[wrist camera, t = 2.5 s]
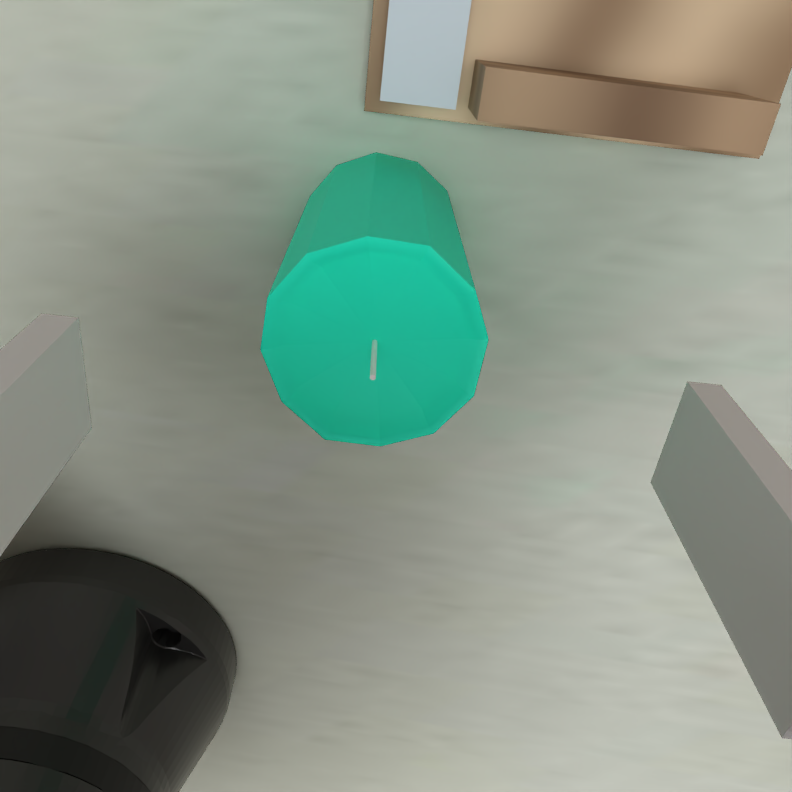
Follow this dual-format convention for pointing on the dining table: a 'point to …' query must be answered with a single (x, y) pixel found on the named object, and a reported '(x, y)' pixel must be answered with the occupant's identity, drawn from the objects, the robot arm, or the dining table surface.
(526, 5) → the jig
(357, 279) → the candle
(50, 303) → the dining table surface
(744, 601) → the robot arm
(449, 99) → the wing slat
